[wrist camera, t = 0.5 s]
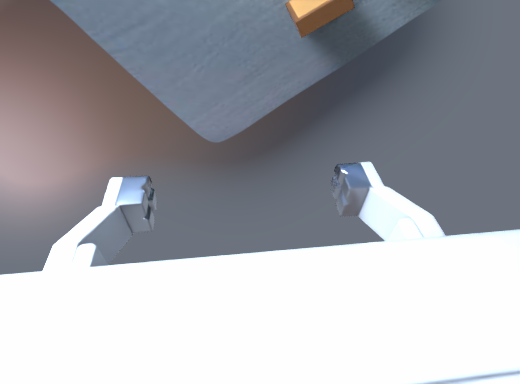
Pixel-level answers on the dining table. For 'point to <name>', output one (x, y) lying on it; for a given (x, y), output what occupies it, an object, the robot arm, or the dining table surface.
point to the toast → (316, 13)
